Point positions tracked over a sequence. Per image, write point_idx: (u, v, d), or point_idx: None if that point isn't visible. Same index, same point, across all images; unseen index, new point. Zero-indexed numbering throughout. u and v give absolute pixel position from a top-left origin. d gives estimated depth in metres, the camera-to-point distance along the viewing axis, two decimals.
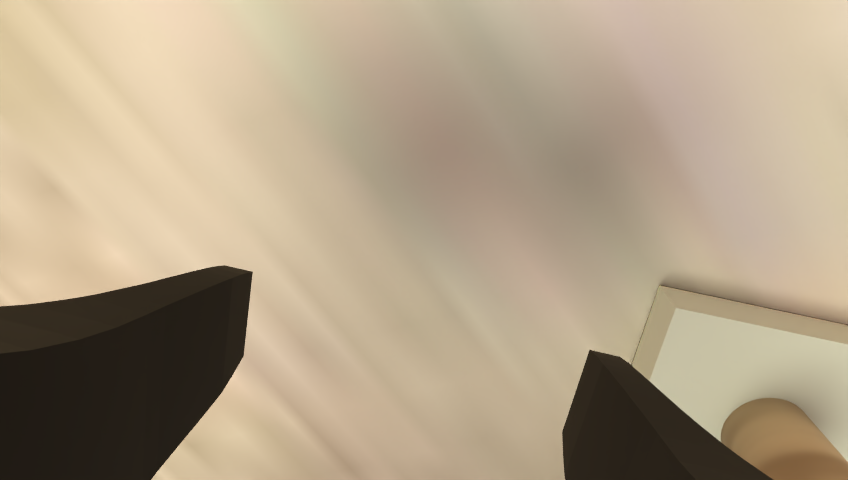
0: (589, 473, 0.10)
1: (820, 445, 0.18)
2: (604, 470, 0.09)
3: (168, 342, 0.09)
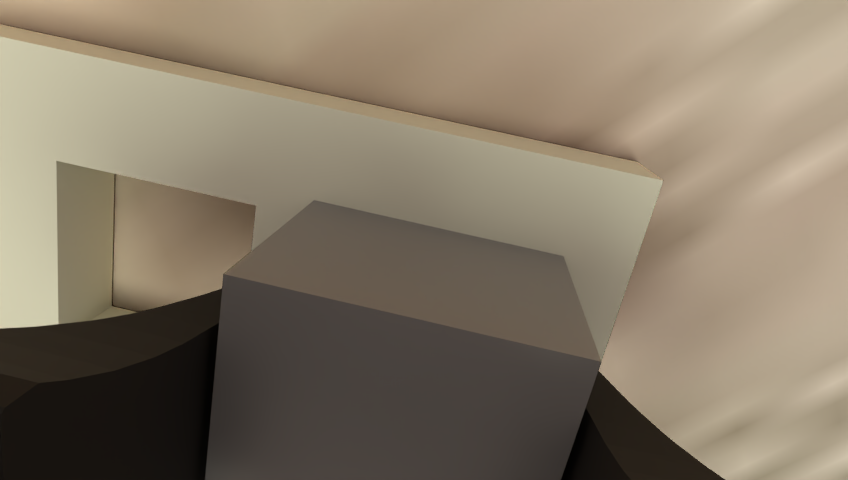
0: None
1: None
2: None
3: None
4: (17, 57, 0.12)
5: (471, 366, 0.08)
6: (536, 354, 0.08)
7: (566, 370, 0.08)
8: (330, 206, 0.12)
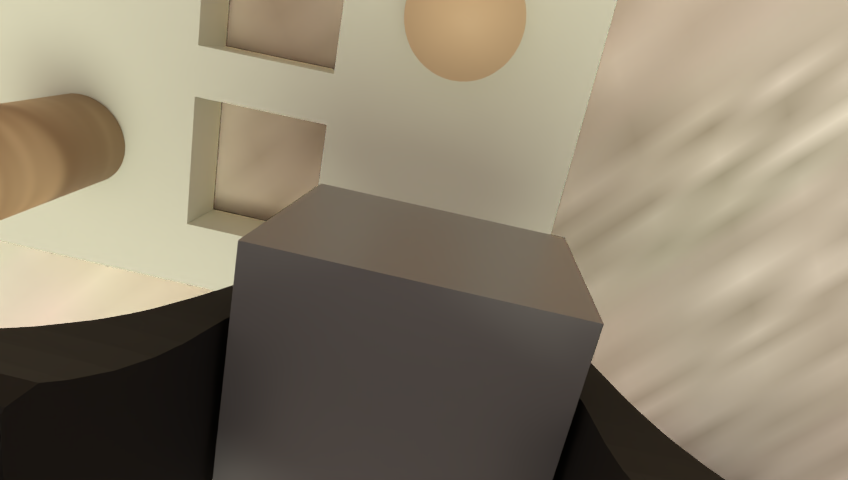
0: None
1: None
2: None
3: (224, 355, 0.09)
4: None
5: (477, 330, 0.08)
6: (540, 317, 0.08)
7: (569, 333, 0.08)
8: (338, 189, 0.12)
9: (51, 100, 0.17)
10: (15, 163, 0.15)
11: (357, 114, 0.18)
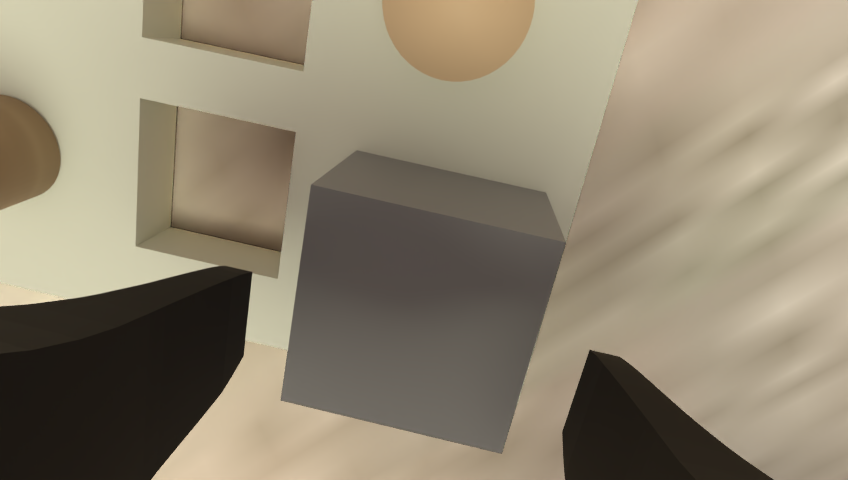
0: (589, 473, 0.10)
1: None
2: (604, 470, 0.09)
3: (168, 342, 0.09)
4: None
5: (478, 247, 0.11)
6: (522, 238, 0.11)
7: (542, 249, 0.11)
8: (370, 154, 0.15)
9: None
10: None
11: (332, 119, 0.15)
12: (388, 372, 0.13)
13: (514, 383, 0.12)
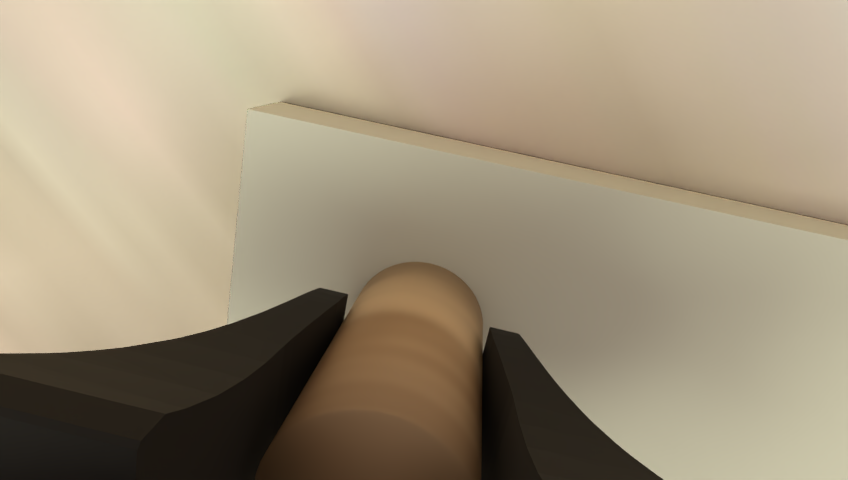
0: None
1: (436, 312, 0.10)
2: (483, 441, 0.10)
3: (292, 372, 0.09)
4: None
5: None
6: None
7: None
8: None
9: None
10: None
11: None
12: None
13: None
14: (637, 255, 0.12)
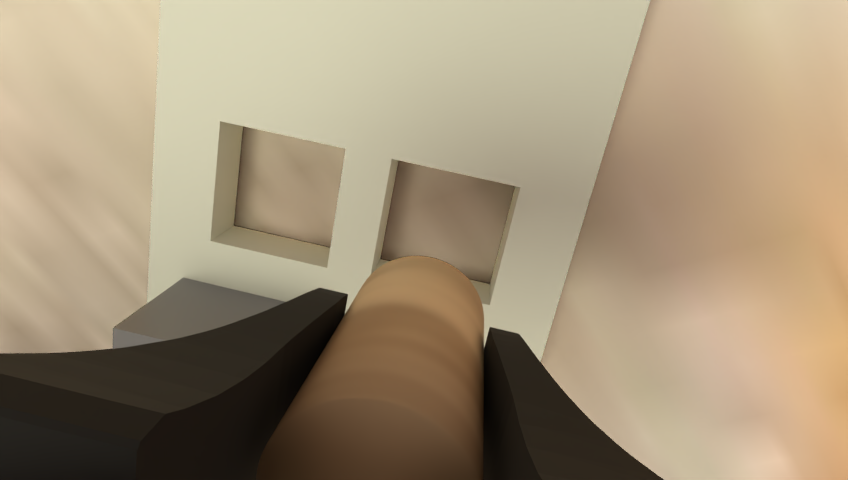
0: None
1: (435, 304, 0.10)
2: (483, 441, 0.10)
3: (292, 372, 0.09)
4: (585, 176, 0.19)
5: None
6: None
7: None
8: None
9: None
10: None
11: None
12: None
13: None
14: None
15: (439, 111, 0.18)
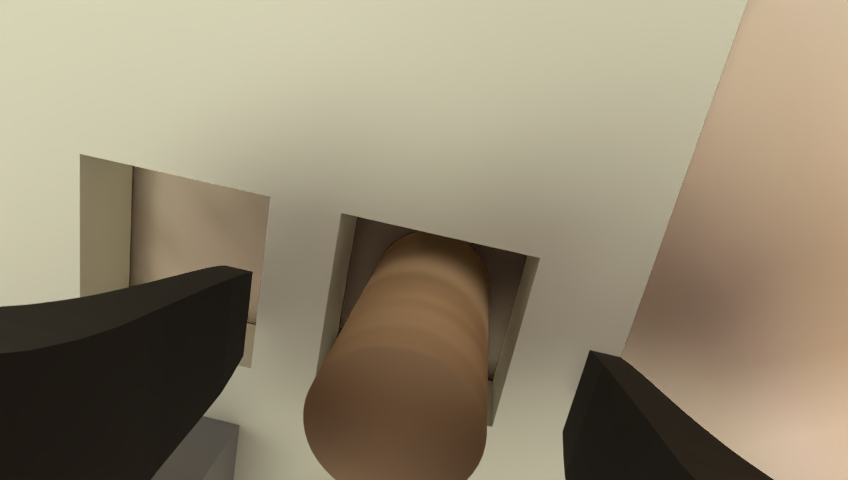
0: (589, 473, 0.10)
1: (446, 272, 0.12)
2: (604, 470, 0.09)
3: (168, 342, 0.09)
4: (643, 243, 0.12)
5: None
6: None
7: None
8: (234, 442, 0.14)
9: None
10: None
11: (267, 405, 0.14)
12: None
13: None
14: None
15: (413, 141, 0.12)
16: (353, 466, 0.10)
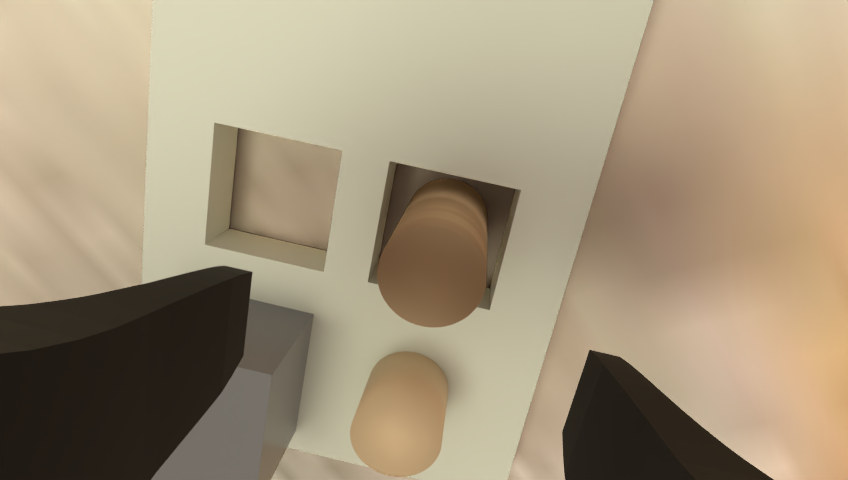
0: (589, 473, 0.10)
1: (459, 198, 0.18)
2: (604, 470, 0.09)
3: (168, 342, 0.09)
4: (587, 179, 0.18)
5: (243, 467, 0.18)
6: None
7: None
8: (310, 326, 0.21)
9: None
10: None
11: (334, 299, 0.21)
12: None
13: None
14: None
15: (438, 112, 0.18)
16: (406, 303, 0.16)
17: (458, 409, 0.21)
